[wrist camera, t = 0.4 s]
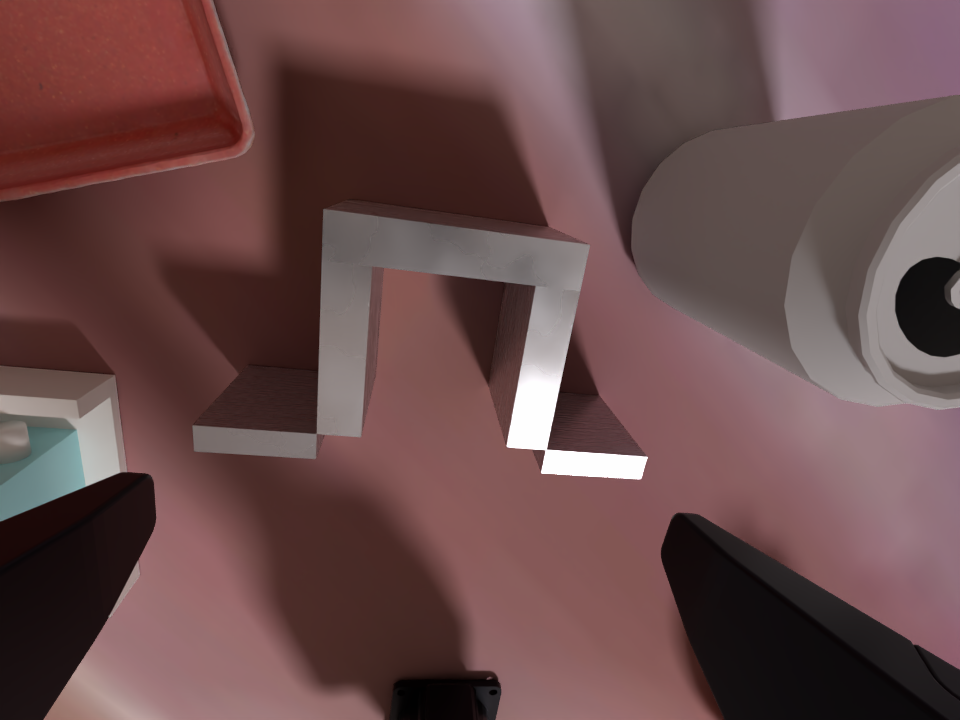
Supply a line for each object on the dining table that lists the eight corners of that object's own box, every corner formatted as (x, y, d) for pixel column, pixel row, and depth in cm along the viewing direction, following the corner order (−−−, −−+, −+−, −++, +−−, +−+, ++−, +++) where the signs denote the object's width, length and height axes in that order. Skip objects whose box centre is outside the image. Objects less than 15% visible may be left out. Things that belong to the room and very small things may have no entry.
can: (587, 235, 21) (771, 306, 10) (718, 86, 19) (1112, -28, 8) (695, 339, 23) (944, 492, 12) (820, 213, 22) (1237, 257, 11)
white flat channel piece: (139, 575, 25) (110, 617, 22) (-18, 571, 24) (-66, 614, 21) (115, 374, 21) (76, 400, 19) (-74, 359, 20) (-139, 384, 18)
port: (594, 414, 24) (640, 479, 19) (248, 385, 22) (194, 451, 17) (638, 239, 21) (705, 260, 16) (243, 184, 19) (176, 188, 14)
